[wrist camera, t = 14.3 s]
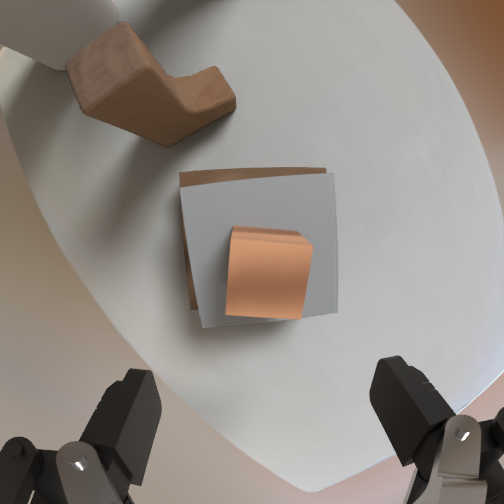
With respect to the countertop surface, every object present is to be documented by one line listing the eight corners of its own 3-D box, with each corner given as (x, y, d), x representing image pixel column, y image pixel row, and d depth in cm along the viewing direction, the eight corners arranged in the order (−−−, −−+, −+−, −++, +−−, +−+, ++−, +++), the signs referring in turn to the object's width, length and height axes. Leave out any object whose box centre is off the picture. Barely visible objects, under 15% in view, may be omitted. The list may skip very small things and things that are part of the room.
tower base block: (189, 173, 30) (179, 172, 25) (313, 169, 30) (325, 167, 25) (197, 291, 33) (191, 309, 28) (312, 286, 33) (323, 303, 29)
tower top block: (191, 186, 25) (179, 187, 20) (317, 174, 25) (333, 173, 20) (208, 304, 28) (202, 328, 23) (322, 291, 28) (337, 312, 23)
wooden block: (219, 78, 26) (196, -20, 9) (237, 109, 27) (233, 24, 10) (150, 118, 27) (60, 64, 10) (167, 149, 28) (81, 116, 11)
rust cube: (233, 225, 21) (230, 238, 16) (297, 231, 21) (313, 246, 17) (228, 286, 22) (225, 314, 18) (289, 290, 23) (301, 319, 18)
